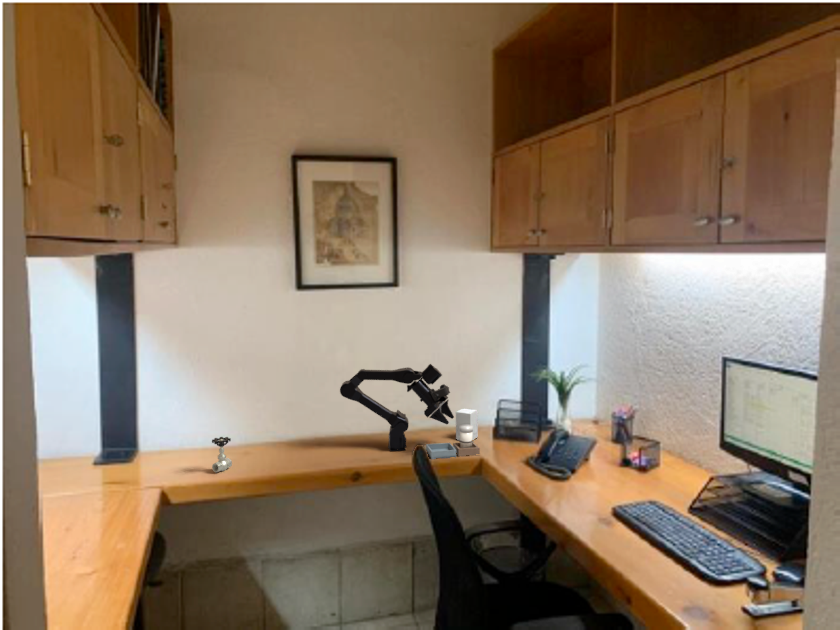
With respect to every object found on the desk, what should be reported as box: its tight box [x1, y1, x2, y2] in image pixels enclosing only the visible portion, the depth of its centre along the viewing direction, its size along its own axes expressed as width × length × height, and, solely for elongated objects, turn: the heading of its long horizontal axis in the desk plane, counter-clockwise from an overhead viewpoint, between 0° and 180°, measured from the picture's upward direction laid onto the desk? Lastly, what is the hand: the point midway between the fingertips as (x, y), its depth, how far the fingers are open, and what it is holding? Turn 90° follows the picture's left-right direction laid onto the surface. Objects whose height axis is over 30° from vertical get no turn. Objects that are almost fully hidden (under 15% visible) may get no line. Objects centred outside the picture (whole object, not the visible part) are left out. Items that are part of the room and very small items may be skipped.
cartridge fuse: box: [459, 424, 473, 449], centre depth 257 cm, size 5×5×11 cm
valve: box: [211, 436, 233, 474], centre depth 237 cm, size 7×7×12 cm
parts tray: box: [425, 442, 457, 460], centre depth 255 cm, size 10×10×3 cm
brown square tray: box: [452, 441, 481, 457], centre depth 258 cm, size 9×9×3 cm
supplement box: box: [455, 408, 479, 441], centre depth 276 cm, size 7×7×13 cm
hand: (450, 420), depth 258 cm, fingers open, 9 cm apart
